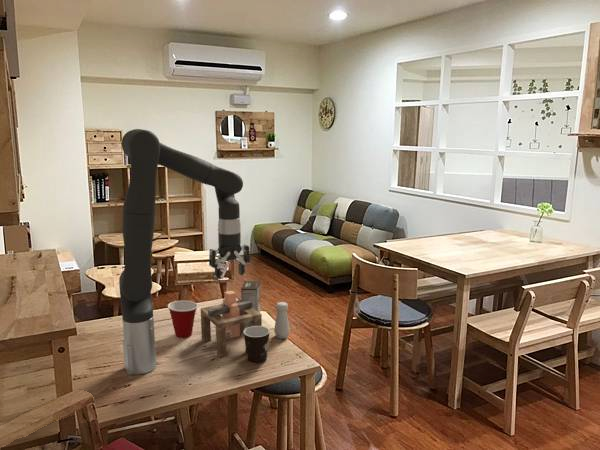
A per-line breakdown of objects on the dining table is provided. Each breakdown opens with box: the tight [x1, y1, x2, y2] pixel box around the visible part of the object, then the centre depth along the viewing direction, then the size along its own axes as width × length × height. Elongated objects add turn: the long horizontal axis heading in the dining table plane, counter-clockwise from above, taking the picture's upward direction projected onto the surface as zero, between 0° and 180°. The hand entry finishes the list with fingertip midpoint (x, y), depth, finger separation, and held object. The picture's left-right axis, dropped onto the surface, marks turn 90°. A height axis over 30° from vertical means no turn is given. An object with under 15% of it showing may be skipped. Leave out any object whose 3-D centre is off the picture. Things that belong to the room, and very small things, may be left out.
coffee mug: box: [243, 325, 271, 365], centre depth 163 cm, size 12×9×10 cm
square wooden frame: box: [200, 299, 263, 358], centre depth 176 cm, size 16×16×14 cm
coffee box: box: [240, 280, 261, 329], centre depth 192 cm, size 9×6×16 cm
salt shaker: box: [273, 301, 291, 340], centre depth 181 cm, size 6×6×13 cm
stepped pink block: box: [221, 290, 241, 338], centre depth 174 cm, size 3×8×15 cm, turn 33°
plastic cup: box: [167, 300, 199, 339], centre depth 182 cm, size 11×11×12 cm
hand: (230, 276), depth 172 cm, fingers open, 8 cm apart
